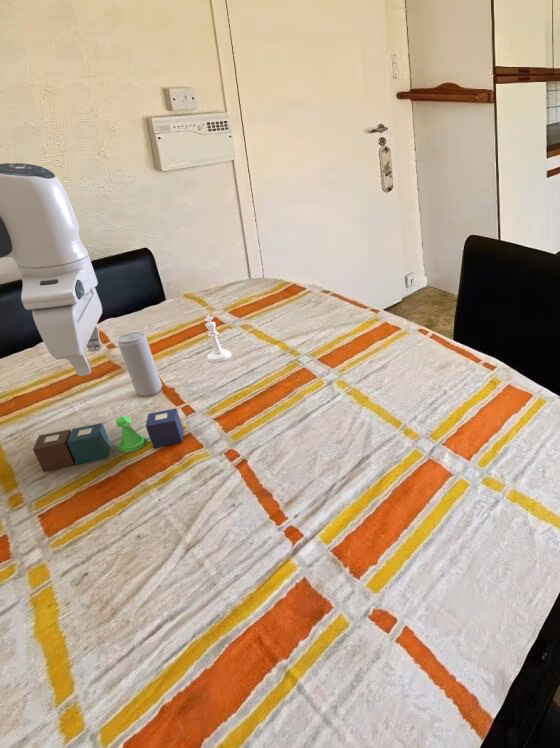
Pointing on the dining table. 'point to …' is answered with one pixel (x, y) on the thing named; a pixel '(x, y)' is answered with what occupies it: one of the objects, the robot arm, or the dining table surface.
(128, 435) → the game piece
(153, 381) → the beverage can
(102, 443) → the letter blocks
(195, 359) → the dining table surface
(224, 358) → the chess piece
